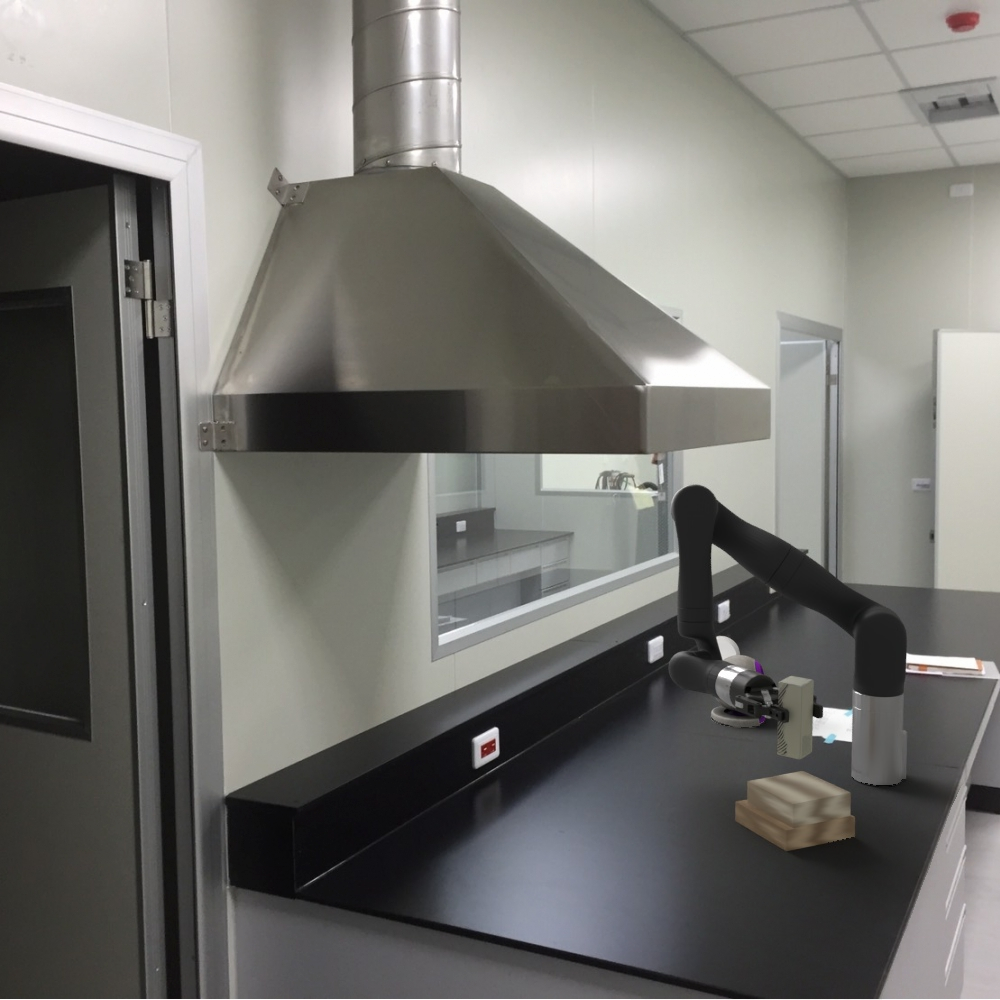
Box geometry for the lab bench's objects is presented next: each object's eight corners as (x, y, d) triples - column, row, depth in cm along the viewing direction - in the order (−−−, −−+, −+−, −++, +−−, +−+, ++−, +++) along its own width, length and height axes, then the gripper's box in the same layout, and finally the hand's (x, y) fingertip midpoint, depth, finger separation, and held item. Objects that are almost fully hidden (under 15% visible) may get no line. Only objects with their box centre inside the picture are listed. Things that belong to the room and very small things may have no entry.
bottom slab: (800, 811, 190) (801, 789, 190) (854, 840, 177) (855, 816, 177) (735, 823, 185) (735, 801, 184) (786, 854, 172) (786, 830, 171)
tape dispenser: (746, 671, 291) (746, 632, 290) (729, 686, 275) (729, 645, 274) (711, 667, 296) (711, 629, 295) (693, 682, 280) (693, 642, 279)
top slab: (802, 792, 188) (802, 770, 188) (850, 815, 177) (850, 792, 177) (747, 803, 183) (747, 781, 183) (793, 828, 172) (793, 804, 172)
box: (788, 747, 183) (790, 674, 182) (813, 753, 180) (815, 678, 179) (775, 755, 179) (777, 681, 178) (800, 761, 176) (802, 685, 175)
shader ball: (766, 729, 237) (767, 663, 236) (708, 725, 241) (708, 660, 239) (768, 713, 250) (768, 650, 248) (712, 710, 253) (713, 648, 252)
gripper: (712, 673, 189) (769, 697, 174) (778, 665, 195) (840, 688, 179) (711, 714, 190) (768, 741, 174) (777, 705, 195) (838, 731, 180)
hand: (804, 714), depth 177 cm, fingers closed on box, 6 cm apart
